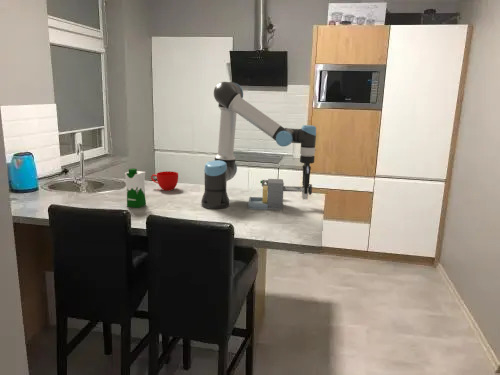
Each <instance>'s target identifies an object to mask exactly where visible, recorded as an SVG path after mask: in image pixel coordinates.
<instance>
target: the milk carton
mask: <svg viewBox="0 0 500 375" xmlns="http://www.w3.org/2000/svg"><path fill="white" fill-rule="evenodd" d="M146 173H147V172H146V171H140V170H137V168H133V167H132V168H128V171H127V172H124V178H125V183H126V184H125V185H126V186H125V187H126V207H127V208H136V209H140V208H142V207H144V206H146V205H147V200H146V187H145V185H146V184H145V178H146Z"/></svg>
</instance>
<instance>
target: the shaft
mask: <svg viewBox="0 0 500 375" xmlns="http://www.w3.org/2000/svg"><path fill="white" fill-rule="evenodd" d="M312 191H313V185H312V184H311V183H309V187H308V196H309V195H310V196H311V195H312V193H313V192H312ZM283 192H293V193H295V192H297V193H300V192H301V193H302V192H303V188H302V186H295V185H292V186H291V185H284V189H283Z"/></svg>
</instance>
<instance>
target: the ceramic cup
mask: <svg viewBox="0 0 500 375" xmlns="http://www.w3.org/2000/svg"><path fill="white" fill-rule="evenodd" d="M153 177H156V180H155V179H154V178H153ZM150 179H151V180H152V181H153V182H154V183H155V184H158V186H159V188H161V190H162V191H173V190H174V189H175V188H176V187H177V185H178V182H179V172H176V171H159V172H157V173H156V174H152V175H151V177H150Z"/></svg>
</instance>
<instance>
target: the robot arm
mask: <svg viewBox="0 0 500 375" xmlns="http://www.w3.org/2000/svg"><path fill="white" fill-rule="evenodd" d="M213 97H214V99H215V101H216V102H217V103H218V108H219V110H220V117H219V118H220V120H219V131H218V146H217V154H216V155H214V160H210V161H208V162H206V163H205V165H204V170H203V171H204V193H203V195H202V198H201V201H200V203H201V204H200V206H201V207H203V208H206V209H208V210H209V209H211V210H217V209H218V210H221V209H226V208H228V207H230V206H231V205H230V204H231V203H230V202H231V201H230V199H229V195H228V192H227V188H228V186H227V182H229V181H230V180H232V179H233V178H234V177H235V176H236V175H237V172H238V171H237V170H238V167H237V164H236V156H235V155H234V149H235V136H236V128H237V127H236V125H237V124H236V123H237V115H238V116H240V117H242V118H243V119H245V120H246V121H248V122H249V123H250V124H252V125H253V126H254V127H256V128H257V129H258V130H260V131H261V132H262V133H264V134H266V135H267V136H268V137H270V138H271V139H273V140H274V141H275V143H276V144H277V145H278V146H280V147H287V146H290V145H291V144H300V150H299V153H300V156H299V163H301V164H303V165H302V182H301V183H302V185H301V187H302V188H303V192H301V198H302V200H308V199H309V197H308V196H309V193H308V187H309V184H310V177H311V172H312V171H311V170H312V168H311V167H312V166H311V164H315V157H316V156H315V154H316V153H315V152H316V151H317V149H316V143H317V142H316V141H317V127H316V126H315V125H311V124H305V125H302V126H301V128H292V127H291V128H288V127H283V126H282V125H280V124H279V123H277V121H275V120H274V119H272V118H271V117H269V116H268V115H267V114H265V113H263V111H261V110H259V109H258V108H256V107H255V106H254V105H252V104H251V103H249V102H248V101H247V100H245V99H244V90H243V87H241V85H240V84H238V83H237V82H233V81H221V82H219V83H218V84H216V85H215V87H214V89H213Z"/></svg>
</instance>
